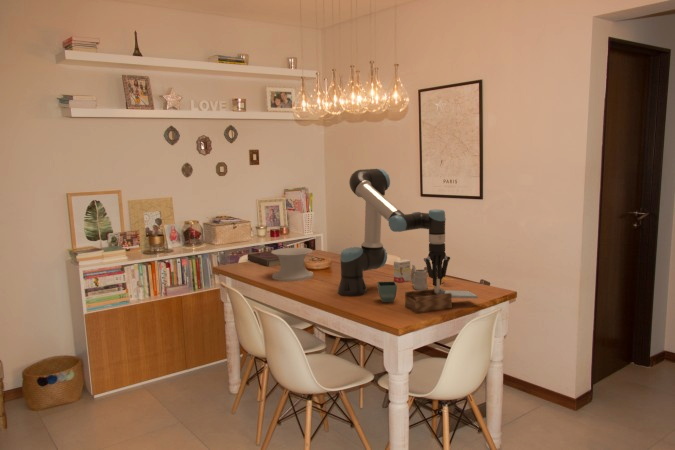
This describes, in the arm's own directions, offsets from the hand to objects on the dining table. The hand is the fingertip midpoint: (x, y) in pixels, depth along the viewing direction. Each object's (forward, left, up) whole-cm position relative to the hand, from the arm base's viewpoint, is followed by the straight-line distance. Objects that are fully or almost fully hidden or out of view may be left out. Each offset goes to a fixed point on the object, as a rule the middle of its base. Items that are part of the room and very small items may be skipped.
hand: (437, 292), depth 254 cm
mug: (+8, +36, -7) cm, 38 cm away
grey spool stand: (-48, +92, -7) cm, 104 cm away
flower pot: (-18, +18, -7) cm, 26 cm away
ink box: (+7, +54, -7) cm, 55 cm away
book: (-50, +145, -8) cm, 154 cm away
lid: (+10, 0, -3) cm, 10 cm away
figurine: (+26, +40, -7) cm, 49 cm away
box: (-5, 0, -7) cm, 8 cm away
